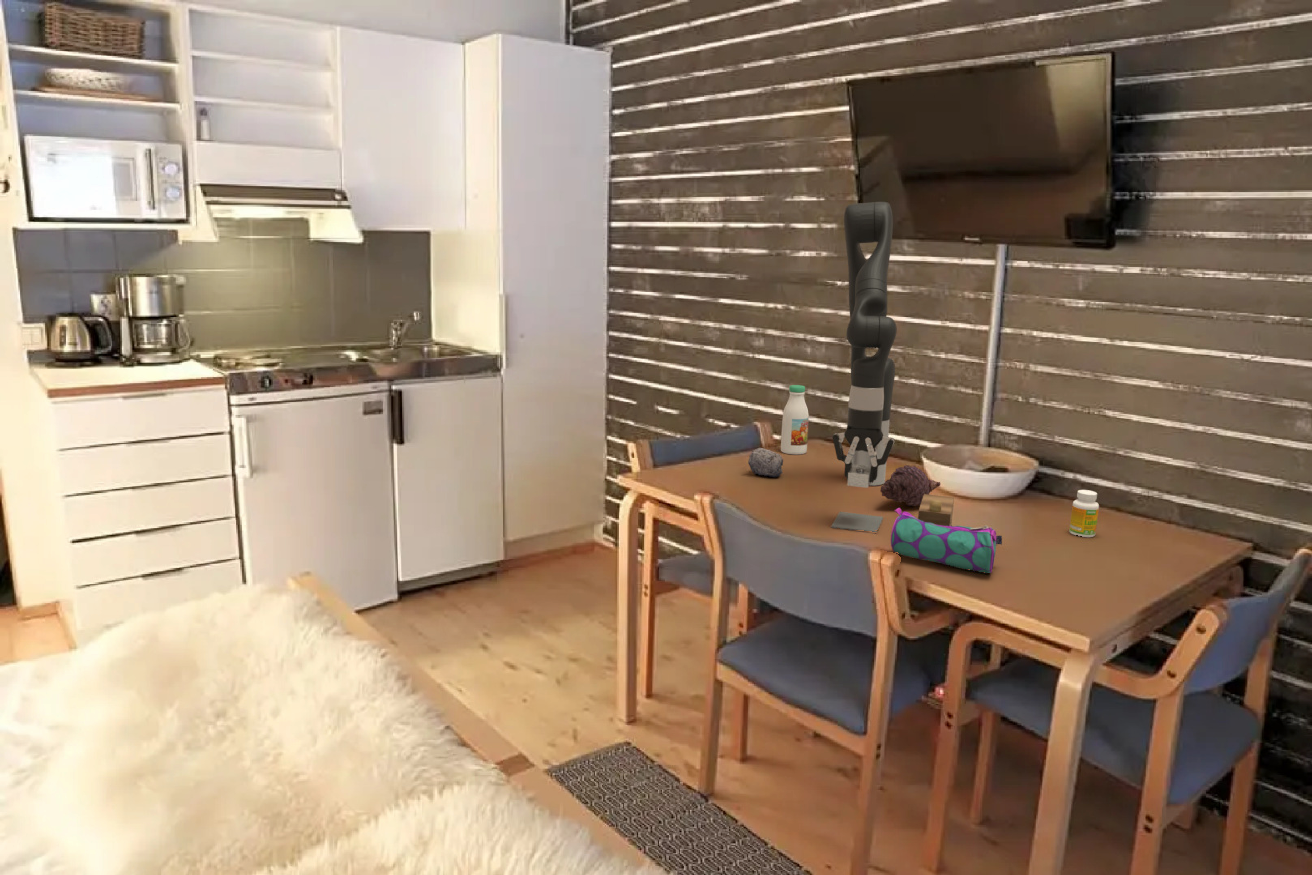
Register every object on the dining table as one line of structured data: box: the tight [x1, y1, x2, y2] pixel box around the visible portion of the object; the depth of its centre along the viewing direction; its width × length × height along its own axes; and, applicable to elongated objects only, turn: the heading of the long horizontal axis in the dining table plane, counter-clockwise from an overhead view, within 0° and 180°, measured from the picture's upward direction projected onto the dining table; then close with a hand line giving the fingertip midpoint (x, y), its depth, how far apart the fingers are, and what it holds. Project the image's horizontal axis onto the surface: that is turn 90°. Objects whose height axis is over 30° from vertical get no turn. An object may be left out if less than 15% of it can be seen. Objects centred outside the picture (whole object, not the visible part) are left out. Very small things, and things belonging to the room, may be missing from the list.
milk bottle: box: [780, 384, 810, 455], centre depth 282 cm, size 8×8×20 cm
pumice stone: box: [747, 447, 784, 478], centre depth 256 cm, size 10×8×10 cm
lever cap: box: [847, 465, 871, 489], centre depth 215 cm, size 8×4×3 cm, turn 160°
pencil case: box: [890, 507, 1003, 574], centre depth 192 cm, size 21×9×10 cm, turn 60°
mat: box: [830, 511, 884, 533], centre depth 217 cm, size 12×10×1 cm
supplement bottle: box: [1068, 489, 1100, 538], centre depth 212 cm, size 5×5×10 cm
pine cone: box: [880, 464, 941, 507], centre depth 231 cm, size 18×10×10 cm, turn 118°
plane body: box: [917, 493, 955, 526], centre depth 208 cm, size 14×7×10 cm, turn 160°
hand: (860, 480), depth 215 cm, fingers closed on lever cap, 4 cm apart
